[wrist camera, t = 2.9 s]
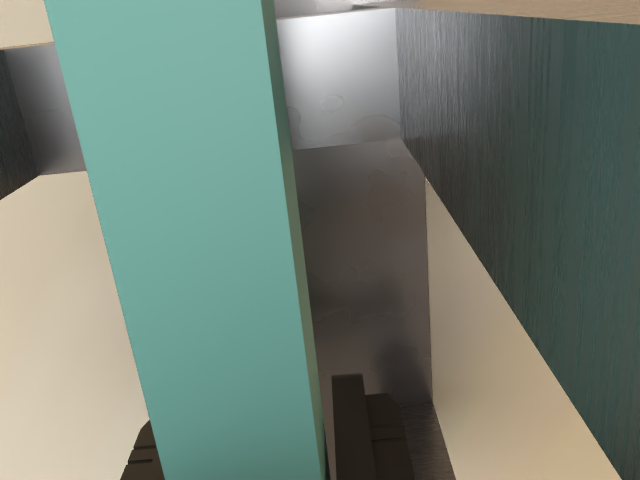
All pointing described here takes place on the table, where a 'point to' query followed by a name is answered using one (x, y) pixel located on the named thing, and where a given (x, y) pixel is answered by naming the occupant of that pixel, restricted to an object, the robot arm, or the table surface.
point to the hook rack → (439, 186)
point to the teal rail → (200, 227)
